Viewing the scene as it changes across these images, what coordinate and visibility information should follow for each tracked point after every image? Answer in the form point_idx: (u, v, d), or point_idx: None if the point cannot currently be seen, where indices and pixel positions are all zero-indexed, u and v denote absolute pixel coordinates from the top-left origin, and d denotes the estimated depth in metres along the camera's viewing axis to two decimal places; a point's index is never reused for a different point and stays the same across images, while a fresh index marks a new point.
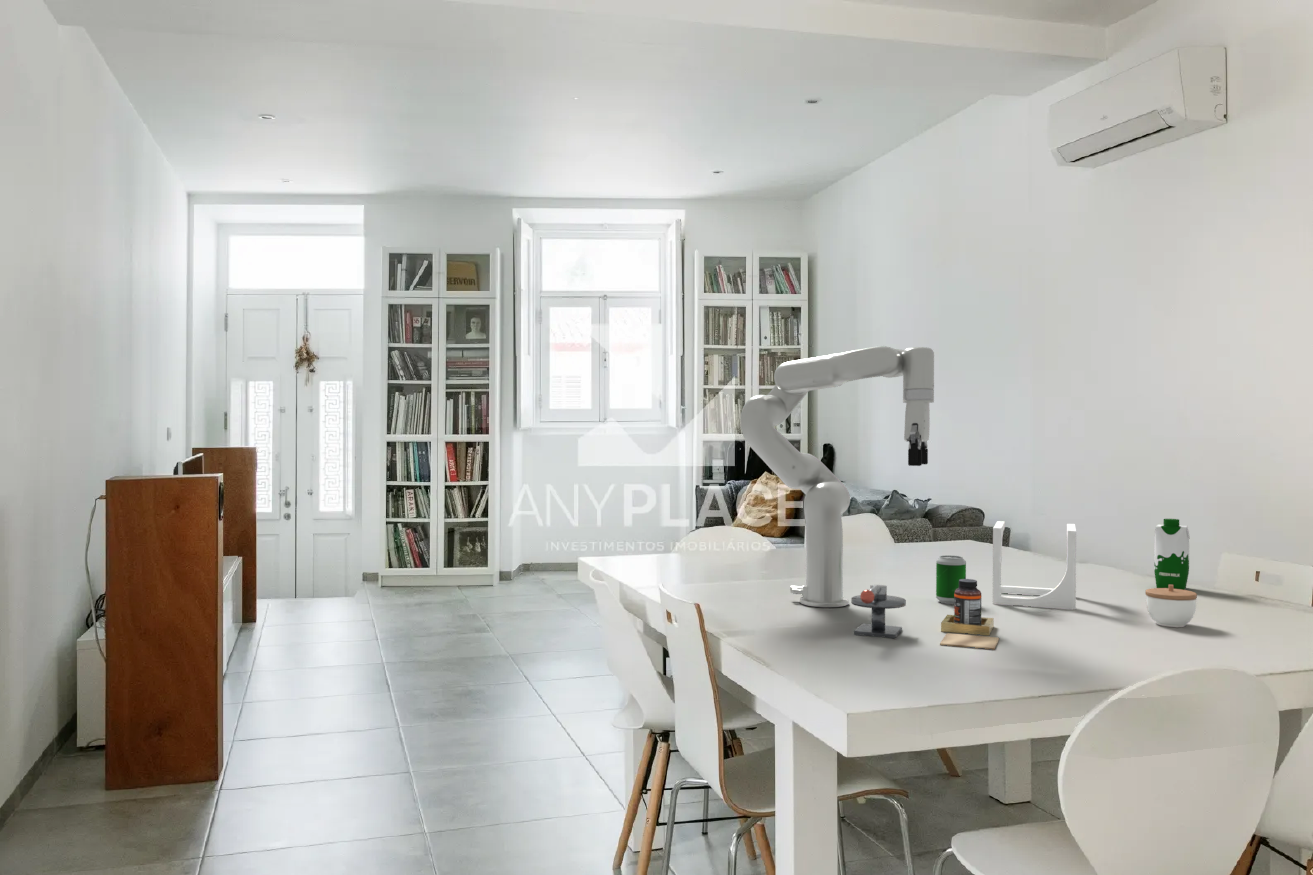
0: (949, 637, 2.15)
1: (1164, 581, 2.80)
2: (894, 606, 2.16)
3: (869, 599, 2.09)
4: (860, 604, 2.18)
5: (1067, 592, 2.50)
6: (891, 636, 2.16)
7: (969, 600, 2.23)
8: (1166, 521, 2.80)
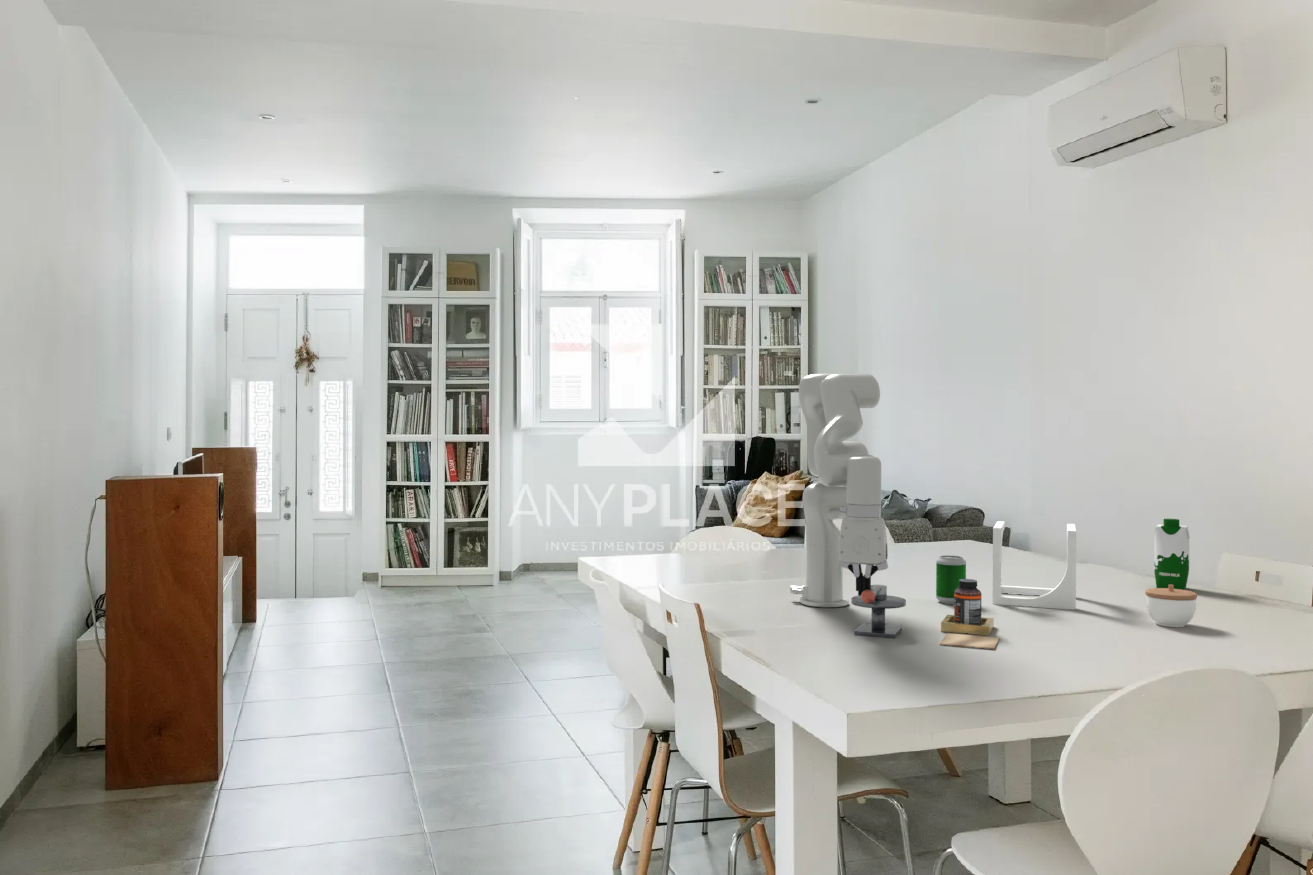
0: (949, 637, 2.15)
1: (1164, 581, 2.80)
2: (894, 606, 2.16)
3: (870, 599, 2.09)
4: (860, 604, 2.18)
5: (1067, 592, 2.50)
6: (891, 636, 2.16)
7: (969, 600, 2.23)
8: (1166, 521, 2.80)
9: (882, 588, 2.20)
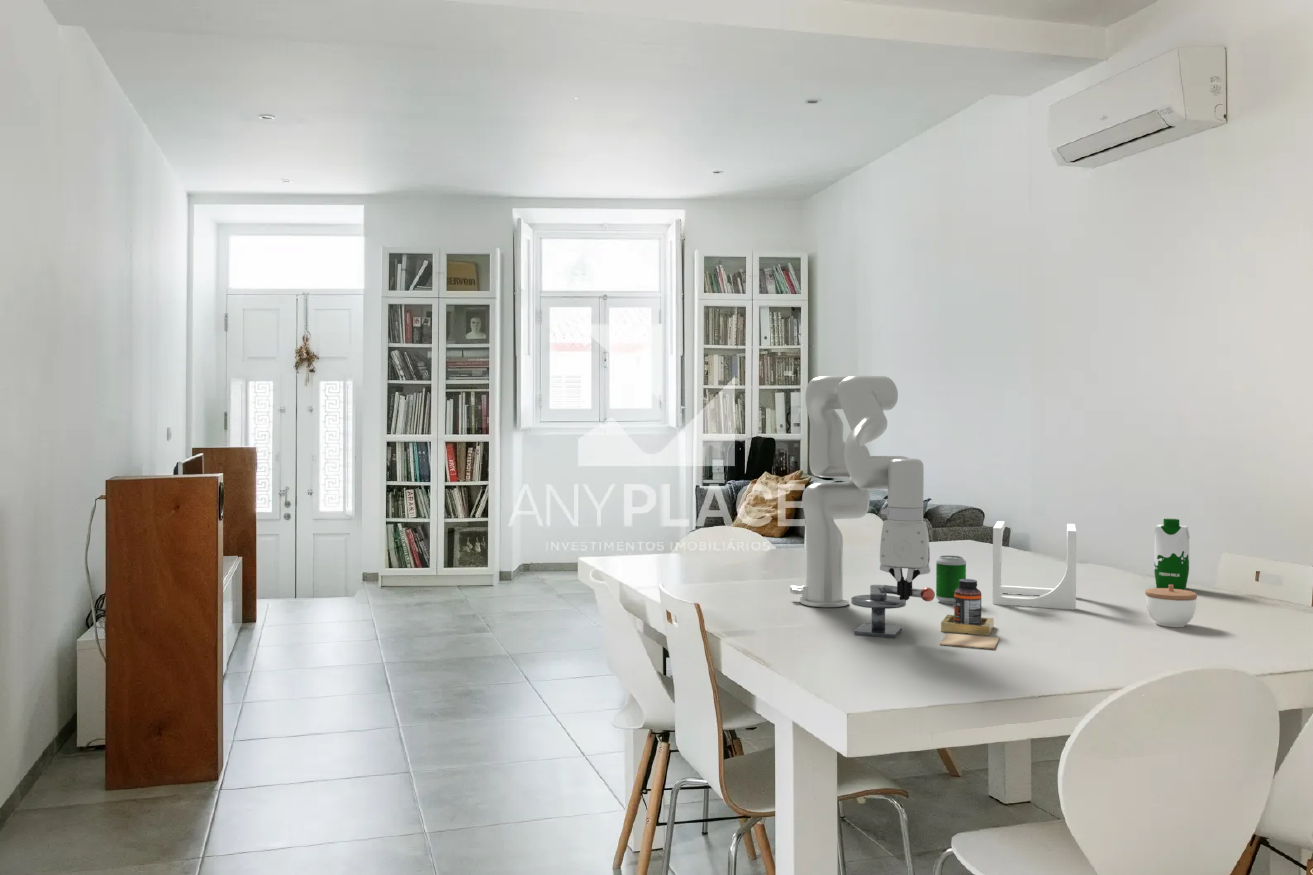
0: (949, 637, 2.15)
1: (1164, 581, 2.80)
2: None
3: (934, 596, 2.13)
4: (892, 606, 2.16)
5: (1067, 592, 2.50)
6: (891, 636, 2.16)
7: (969, 600, 2.23)
8: (1166, 521, 2.80)
9: None
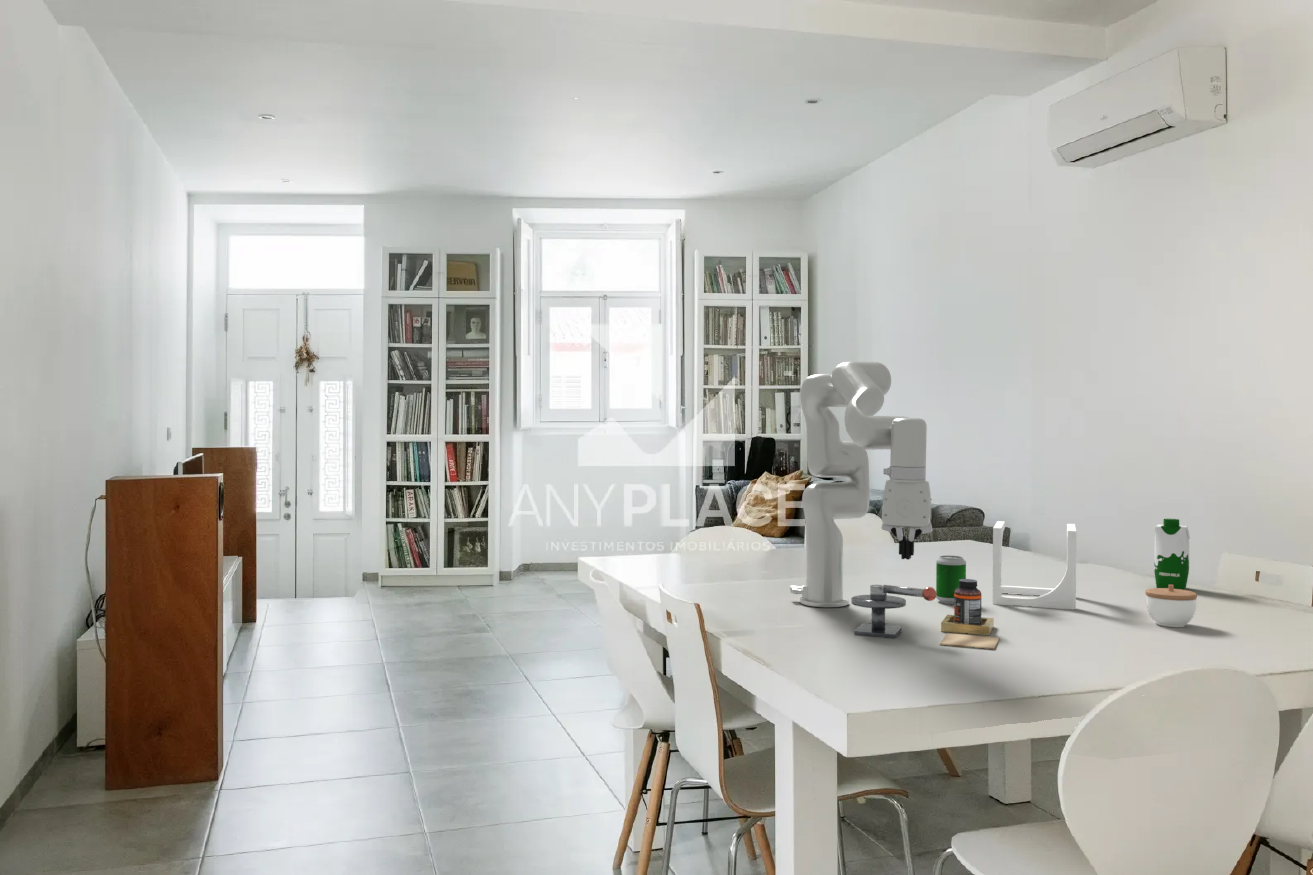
0: (949, 637, 2.15)
1: (1164, 581, 2.80)
2: None
3: None
4: (894, 606, 2.16)
5: (1067, 592, 2.50)
6: (891, 636, 2.16)
7: (969, 600, 2.23)
8: (1166, 521, 2.80)
9: None
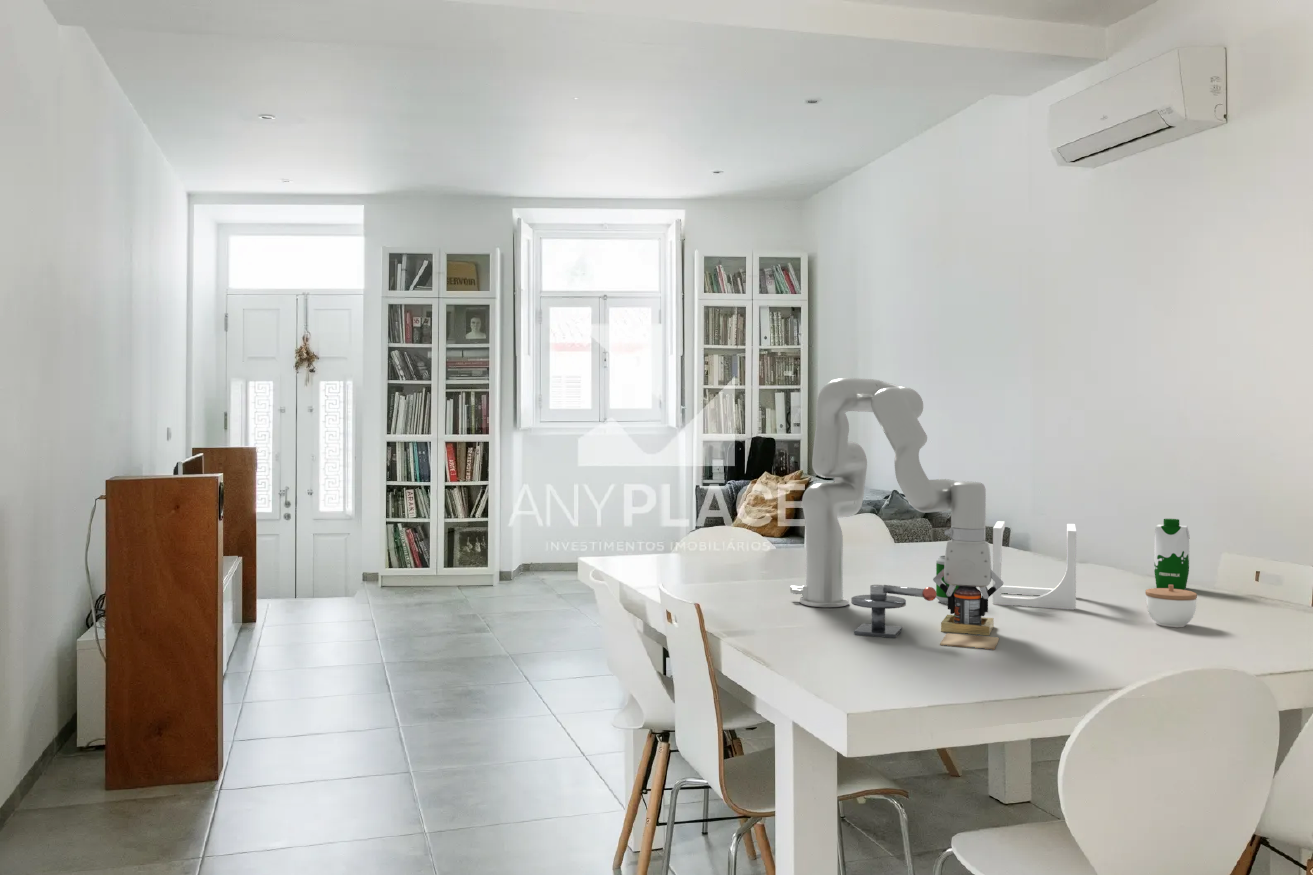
0: (949, 637, 2.15)
1: (1164, 581, 2.80)
2: None
3: None
4: (894, 606, 2.16)
5: (1067, 592, 2.50)
6: (891, 636, 2.16)
7: (969, 600, 2.23)
8: (1166, 521, 2.80)
9: None
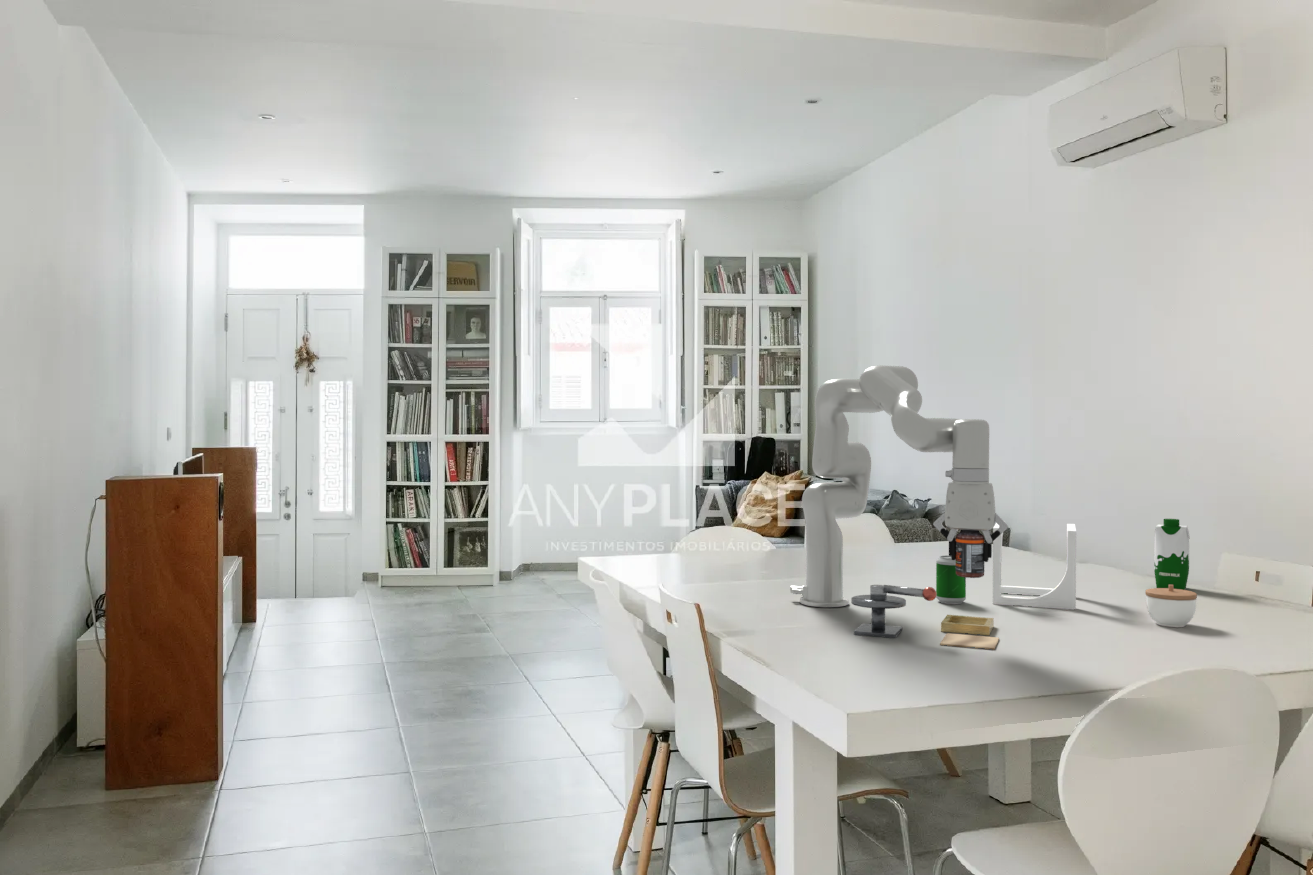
0: (949, 637, 2.15)
1: (1164, 581, 2.80)
2: None
3: None
4: (894, 606, 2.16)
5: (1067, 592, 2.50)
6: (891, 636, 2.16)
7: (971, 544, 2.09)
8: (1166, 521, 2.80)
9: None
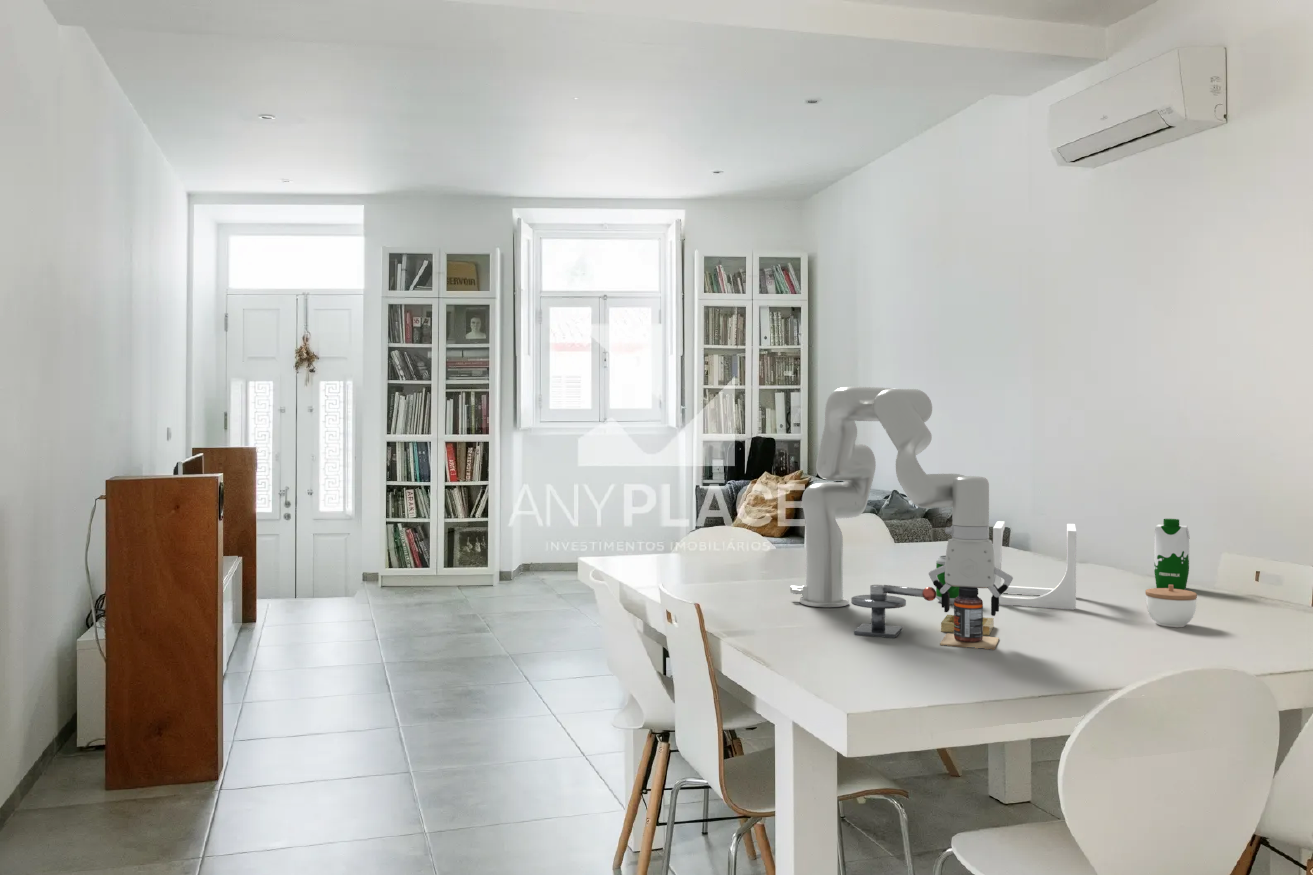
0: (949, 637, 2.15)
1: (1164, 581, 2.80)
2: None
3: None
4: (894, 606, 2.16)
5: (1067, 592, 2.50)
6: (891, 636, 2.16)
7: (969, 609, 2.09)
8: (1166, 521, 2.80)
9: None
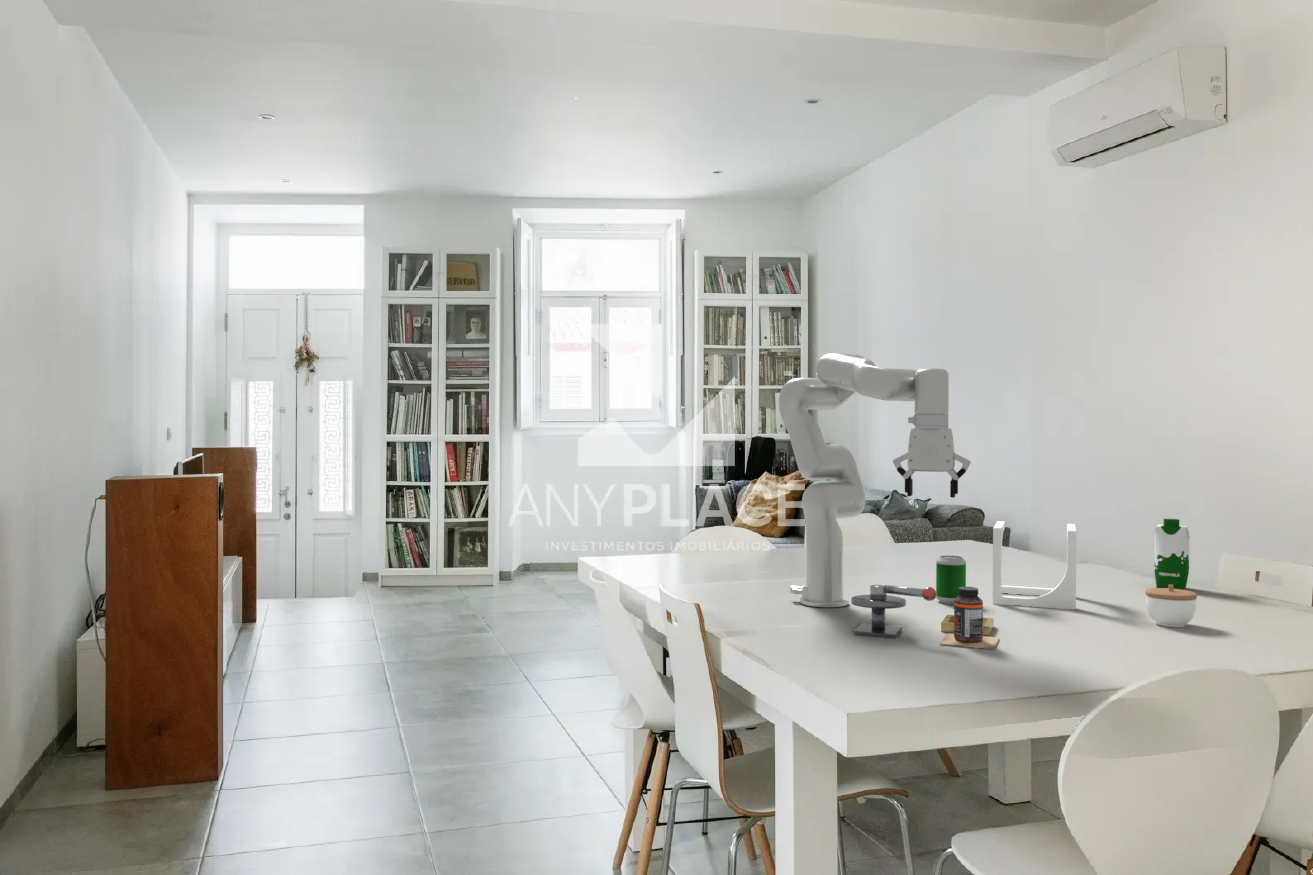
0: (949, 637, 2.15)
1: (1164, 581, 2.80)
2: None
3: None
4: (894, 606, 2.16)
5: (1067, 592, 2.50)
6: (891, 636, 2.16)
7: (969, 609, 2.09)
8: (1166, 521, 2.80)
9: None
